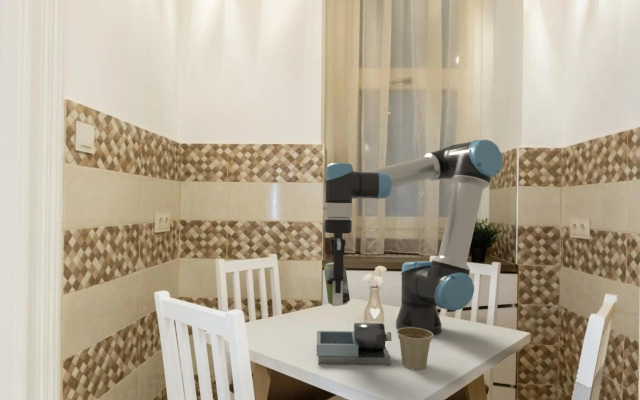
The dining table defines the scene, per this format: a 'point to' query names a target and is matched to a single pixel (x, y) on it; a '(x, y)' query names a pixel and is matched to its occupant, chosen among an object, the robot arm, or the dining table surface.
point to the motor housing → (354, 346)
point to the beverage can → (329, 284)
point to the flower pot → (414, 346)
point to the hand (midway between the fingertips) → (336, 301)
